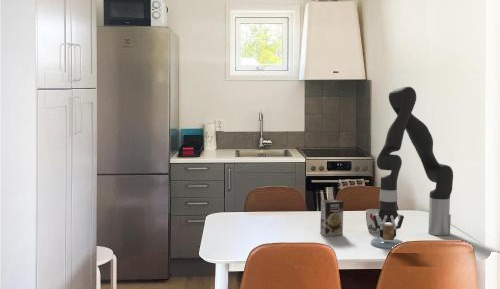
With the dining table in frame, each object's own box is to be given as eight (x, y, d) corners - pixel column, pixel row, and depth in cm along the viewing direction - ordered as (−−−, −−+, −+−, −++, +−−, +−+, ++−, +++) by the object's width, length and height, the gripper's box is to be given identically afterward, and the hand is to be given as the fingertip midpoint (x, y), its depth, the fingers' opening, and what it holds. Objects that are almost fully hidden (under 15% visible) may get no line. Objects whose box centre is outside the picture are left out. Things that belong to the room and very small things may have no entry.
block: (391, 237, 250) (392, 224, 249) (393, 240, 245) (394, 226, 245) (381, 237, 250) (381, 224, 250) (383, 240, 246) (383, 226, 245)
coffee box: (325, 236, 262) (325, 202, 260) (319, 233, 268) (320, 199, 267) (343, 235, 264) (343, 201, 263) (337, 231, 271) (337, 198, 269)
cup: (361, 230, 273) (362, 210, 272) (372, 228, 278) (372, 208, 277) (375, 234, 266) (375, 213, 265) (385, 231, 272) (386, 210, 271)
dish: (400, 240, 255) (400, 237, 254) (406, 249, 241) (406, 246, 241) (368, 240, 255) (368, 237, 255) (373, 248, 241) (373, 245, 241)
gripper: (403, 198, 249) (402, 235, 251) (370, 197, 250) (369, 235, 252) (406, 201, 242) (405, 240, 244) (373, 201, 243) (372, 239, 244)
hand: (387, 237), depth 248 cm, fingers closed on block, 4 cm apart
